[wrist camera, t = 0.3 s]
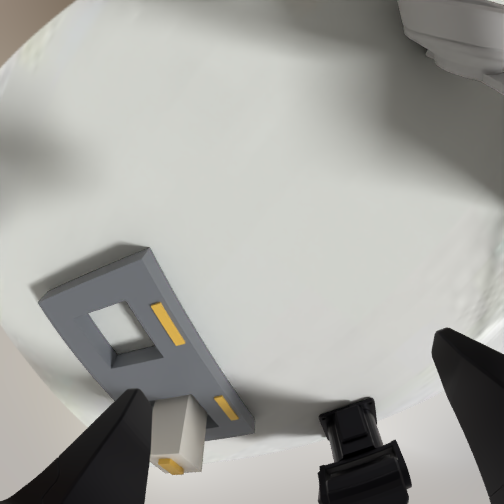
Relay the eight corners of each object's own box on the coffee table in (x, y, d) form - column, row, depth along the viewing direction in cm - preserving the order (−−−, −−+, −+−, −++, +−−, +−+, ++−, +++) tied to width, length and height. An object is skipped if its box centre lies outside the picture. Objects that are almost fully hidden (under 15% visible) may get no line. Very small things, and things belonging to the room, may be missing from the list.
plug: (207, 408, 29) (201, 476, 21) (176, 413, 30) (164, 478, 22) (190, 386, 28) (178, 459, 20) (157, 392, 28) (140, 460, 20)
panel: (254, 418, 30) (254, 434, 28) (163, 432, 31) (160, 446, 29) (149, 247, 21) (140, 260, 19) (48, 291, 23) (36, 303, 21)
